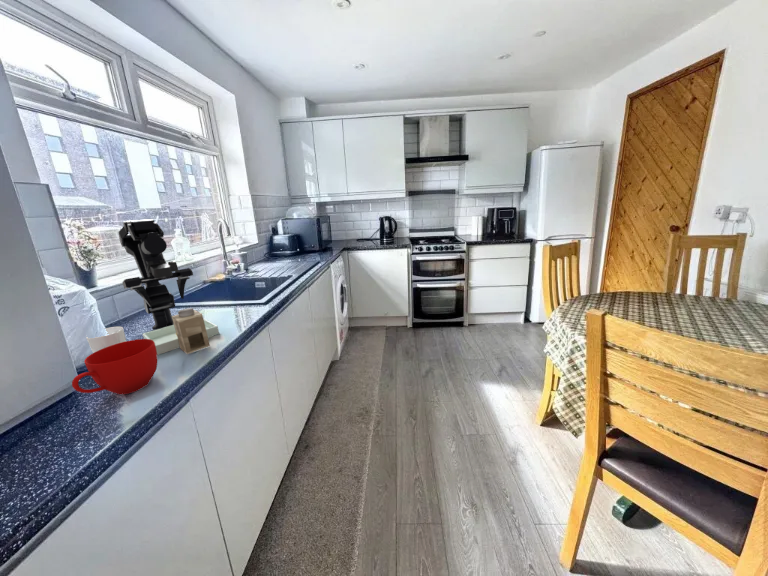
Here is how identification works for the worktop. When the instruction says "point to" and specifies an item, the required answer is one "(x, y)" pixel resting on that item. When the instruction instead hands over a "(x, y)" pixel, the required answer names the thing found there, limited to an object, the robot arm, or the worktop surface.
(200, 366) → the worktop surface
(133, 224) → the robot arm
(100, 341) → the white cup
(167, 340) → the tray
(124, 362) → the ceramic cup
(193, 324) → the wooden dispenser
